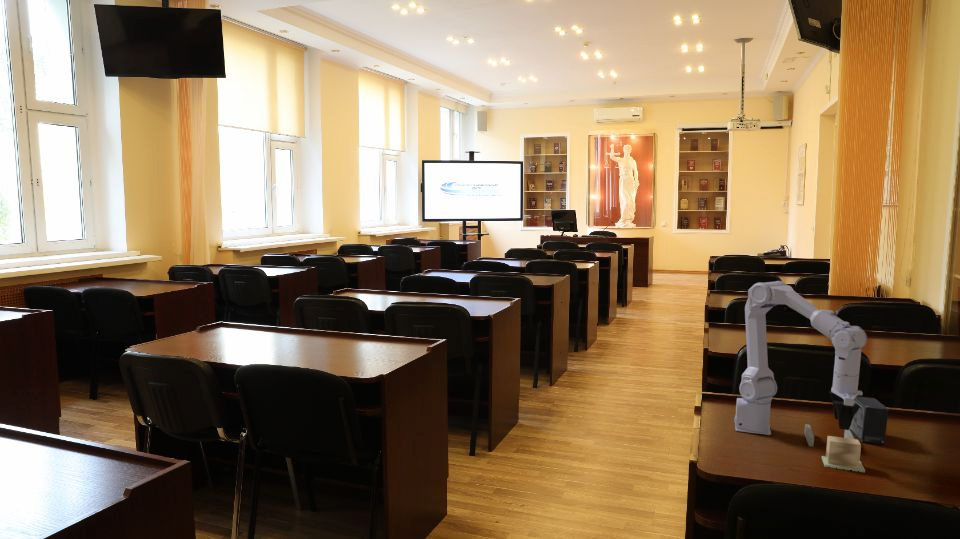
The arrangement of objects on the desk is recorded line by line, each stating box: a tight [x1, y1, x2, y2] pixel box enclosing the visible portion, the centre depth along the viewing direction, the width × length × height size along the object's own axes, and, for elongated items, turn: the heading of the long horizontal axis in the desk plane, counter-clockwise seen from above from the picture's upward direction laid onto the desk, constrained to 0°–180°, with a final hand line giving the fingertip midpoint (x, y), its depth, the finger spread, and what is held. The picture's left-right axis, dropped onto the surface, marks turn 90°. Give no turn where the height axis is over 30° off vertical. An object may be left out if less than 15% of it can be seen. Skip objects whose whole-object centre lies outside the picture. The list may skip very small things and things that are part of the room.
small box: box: [849, 396, 889, 445], centre depth 189 cm, size 11×6×10 cm, turn 168°
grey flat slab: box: [804, 424, 855, 447], centre depth 185 cm, size 11×10×3 cm
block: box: [825, 435, 862, 468], centre depth 170 cm, size 7×4×6 cm, turn 70°
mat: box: [821, 455, 866, 473], centre depth 170 cm, size 9×6×1 cm, turn 70°
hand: (841, 424), depth 172 cm, fingers open, 7 cm apart
